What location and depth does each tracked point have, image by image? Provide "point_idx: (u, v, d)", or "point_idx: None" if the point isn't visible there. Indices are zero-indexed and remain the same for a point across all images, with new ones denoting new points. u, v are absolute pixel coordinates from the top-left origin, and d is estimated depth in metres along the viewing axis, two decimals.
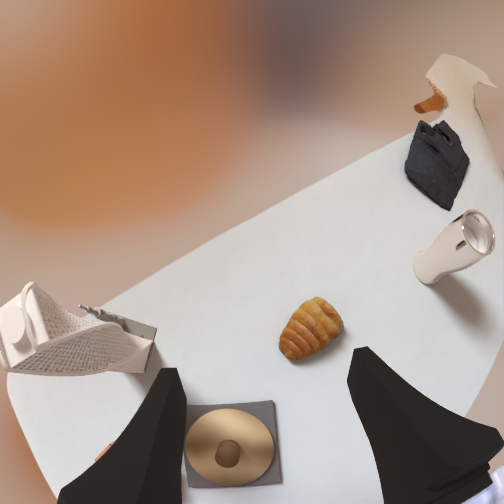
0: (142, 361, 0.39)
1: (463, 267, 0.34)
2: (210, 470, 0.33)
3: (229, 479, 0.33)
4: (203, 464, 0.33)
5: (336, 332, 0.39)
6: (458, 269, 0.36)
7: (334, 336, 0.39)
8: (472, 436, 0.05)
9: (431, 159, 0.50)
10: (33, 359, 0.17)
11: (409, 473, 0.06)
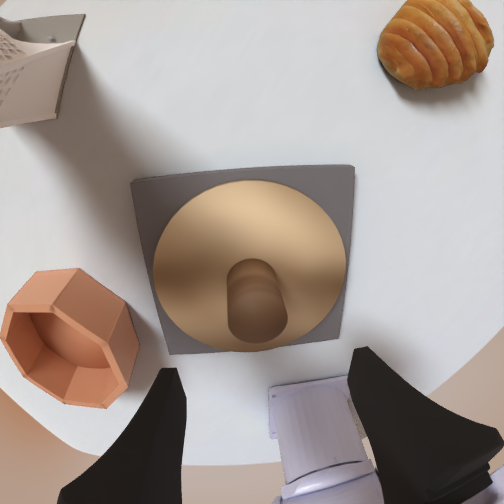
0: (48, 91, 0.13)
1: None
2: (210, 325, 0.20)
3: None
4: (195, 315, 0.19)
5: (486, 63, 0.12)
6: None
7: (482, 69, 0.12)
8: (472, 436, 0.05)
9: None
10: None
11: (409, 473, 0.06)
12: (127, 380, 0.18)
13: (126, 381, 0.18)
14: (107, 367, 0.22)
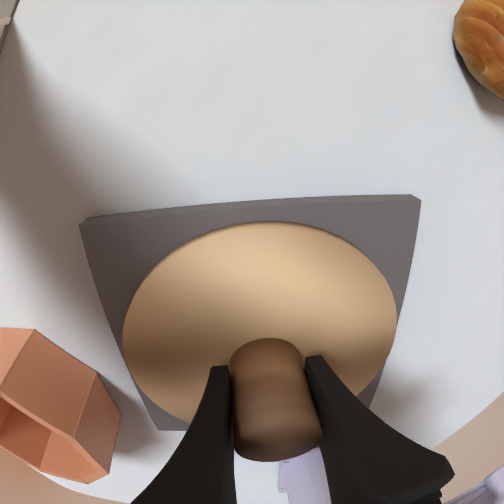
0: None
1: None
2: None
3: None
4: (187, 400, 0.13)
5: None
6: None
7: None
8: (413, 463, 0.05)
9: None
10: None
11: (348, 493, 0.06)
12: (107, 467, 0.12)
13: (106, 468, 0.12)
14: None
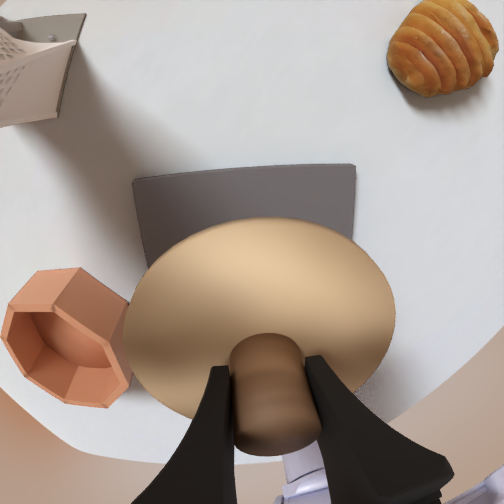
0: (49, 90, 0.13)
1: None
2: None
3: None
4: (187, 395, 0.13)
5: (492, 68, 0.12)
6: None
7: (488, 73, 0.13)
8: (413, 463, 0.05)
9: None
10: None
11: (348, 493, 0.06)
12: (128, 379, 0.18)
13: (127, 380, 0.18)
14: (108, 367, 0.22)
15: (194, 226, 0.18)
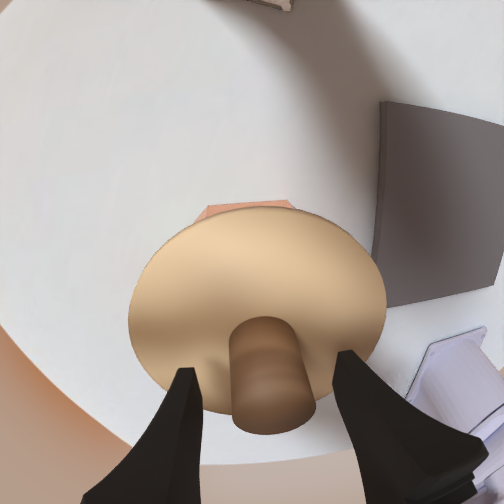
0: None
1: None
2: (205, 389, 0.14)
3: None
4: None
5: None
6: None
7: None
8: (453, 446, 0.05)
9: None
10: None
11: (389, 480, 0.06)
12: None
13: None
14: None
15: (432, 160, 0.15)
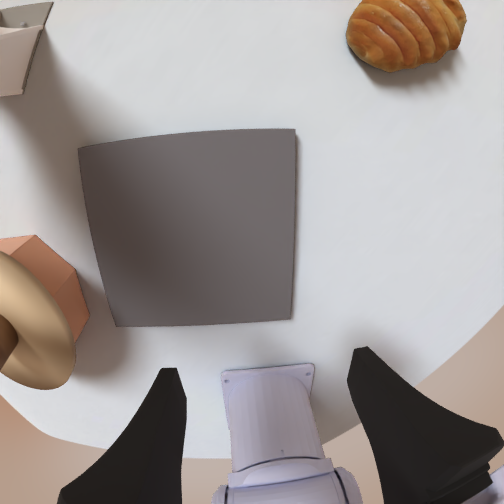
0: (16, 69, 0.12)
1: None
2: None
3: (23, 378, 0.17)
4: None
5: (460, 39, 0.12)
6: None
7: (456, 45, 0.13)
8: (472, 436, 0.05)
9: None
10: None
11: (409, 473, 0.06)
12: None
13: None
14: None
15: (132, 190, 0.17)
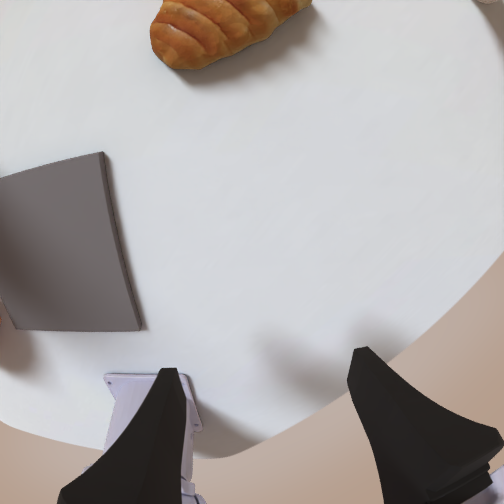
0: None
1: None
2: None
3: None
4: None
5: (293, 0, 0.11)
6: None
7: (289, 9, 0.12)
8: (472, 436, 0.05)
9: None
10: None
11: (409, 473, 0.06)
12: None
13: None
14: None
15: (0, 221, 0.16)
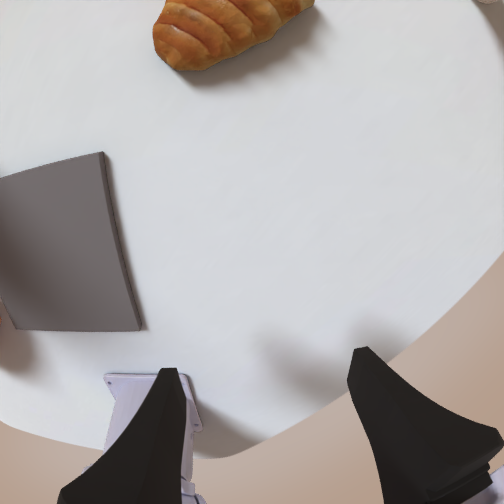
0: None
1: None
2: None
3: None
4: None
5: (296, 0, 0.11)
6: None
7: (292, 10, 0.12)
8: (472, 436, 0.05)
9: None
10: None
11: (409, 473, 0.06)
12: None
13: None
14: None
15: (0, 221, 0.16)
